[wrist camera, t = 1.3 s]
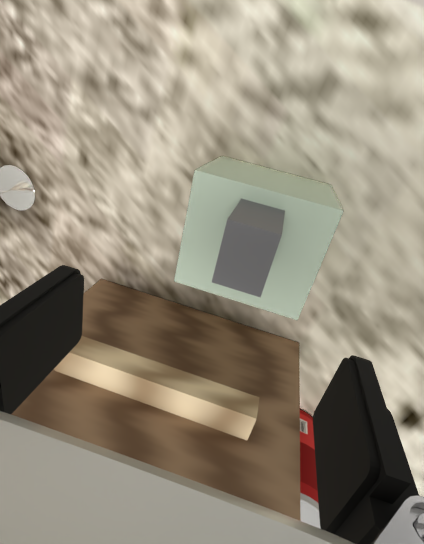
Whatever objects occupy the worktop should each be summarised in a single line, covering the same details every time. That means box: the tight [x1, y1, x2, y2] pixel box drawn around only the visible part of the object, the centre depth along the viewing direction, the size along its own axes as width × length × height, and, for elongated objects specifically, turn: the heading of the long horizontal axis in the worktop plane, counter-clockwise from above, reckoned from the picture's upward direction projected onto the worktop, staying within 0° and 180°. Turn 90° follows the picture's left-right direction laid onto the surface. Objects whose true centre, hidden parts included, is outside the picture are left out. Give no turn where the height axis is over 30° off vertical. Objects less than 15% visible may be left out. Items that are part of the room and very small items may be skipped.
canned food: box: [300, 410, 321, 529], centre depth 37 cm, size 8×8×11 cm
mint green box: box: [174, 156, 344, 320], centre depth 25 cm, size 10×9×14 cm
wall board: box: [11, 279, 301, 521], centre depth 30 cm, size 24×10×20 cm, turn 77°
